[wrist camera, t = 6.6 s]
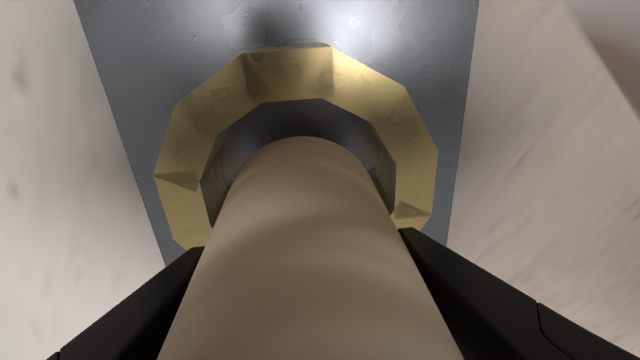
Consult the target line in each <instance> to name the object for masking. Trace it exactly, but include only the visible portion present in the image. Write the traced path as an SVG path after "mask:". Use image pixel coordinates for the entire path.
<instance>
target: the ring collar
mask: <svg viewBox="0 0 640 360" xmlns="http://www.w3.org/2000/svg"><path fill="white" fill-rule="evenodd" d="M74 3H75V6H76V9H77V12H78V15H79V18H80V20H81V23H82V26H83V29H84V32H85V35H86V38H87V41H88V44H89V46H90V49H91V52H92V55H93V58H94V61H95V64H96V67H97V70H98V72H99V75H100V78H101V81H102V84H103V87H104V90H105V93H106V95H107V98H108V101H109V104H110V107H111V110H112V113H113V116H114V119H115V121H116V124H117V127H118V130H119V133H120V136H121V139H122V142H123V145H124V147H125V150H126V153H127V156H128V159H129V162H130V165H131V168H132V170H133V173H134V176H135V179H136V182H137V185H138V188H139V191H140V194H141V196H142V199H143V202H144V205H145V208H146V211H147V214H148V217H149V219H150V222H151V225H152V228H153V231H154V234H155V237H156V240H157V243H158V245H159V248H160V251H161V254H162V257H163V260H164V263H165V266H166V267H167V266H168V265H169V264H171V263H172V262H173V261H174V260H176V259H177V258H178V257H180V256H181V255H182V254H184V253H185V252H186V251H187V250H189V249H190V248H192V247H200V246H206V243H207V241H208V239H209V236H210V234H211V232H212V229H213V227H214V225H215V222H216V220H217V218H218V215H219V213H220V211H221V208H222V206H223V204H224V201H225V199H226V197H227V194H228V192H229V190H230V187H231V185H232V183H233V180H234V178H235V176H236V174H237V172H238V170H239V169H240V167H241V166H242V165H243V163H244V162H245V161H246V160H247V159H248V158H249V157H250V156H251V155H252V154H254V153H255V152H256V151H257V150H259V149H260V148H262V147H264V146H266V145H267V144H270V143H272V142H275V141H277V140H281V139H284V138H289V137H297V136H309V137H317V138H322V139H326V140H329V141H331V142H334V143H337V144H338V145H340V146H342V147H344V148H346V149H347V150H348V151H350V152H351V153H352V154H354V155H355V156H356V157H357V158H358V159H359V160H360V162H361V163H362V164H363V166H364V167H365V168H366V170H367V172H368V174H369V176H370V178H371V180H372V182H373V184H374V185H375V187H376V189H377V191H378V193H379V195H380V197H381V199H382V201H383V203H384V205H385V207H386V209H387V211H388V213H389V215H390V216H391V218H392V220H393V222H394V224H395V226H396V228H397V229H398V228H407V227H413V228H415V229H417V230H418V231H420V232H422V233H423V234H425V235H427V236H428V237H430V238H432V239H434V240H435V241H437V242H439V243H440V244H442V245H444V246H445V247H446V244H447V236H448V229H449V222H450V214H451V207H452V199H453V192H454V184H455V177H456V169H457V162H458V154H459V147H460V140H461V132H462V125H463V117H464V110H465V102H466V95H467V87H468V80H469V72H470V65H471V58H472V50H473V43H474V35H475V28H476V20H477V13H478V5H479V0H74Z"/></svg>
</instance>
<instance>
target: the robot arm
mask: <svg viewBox="0 0 640 360" xmlns="http://www.w3.org/2000/svg"><path fill="white" fill-rule="evenodd" d="M397 230H398V232H399V234H400V236H401V238H402V240H403V242H404V244H405V245H406V247H407V249H408V251H409V253H410V255H411V257H412V259H413V261H414V263H415V265H416V267H417V269H418V271H419V273H420V275H421V276H422V278H423V280H424V282H425V284H426V286H427V288H428V290H429V292H430V294H431V296H432V298H433V300H434V302H435V304H436V306H437V307H438V309H439V311H440V313H441V315H442V317H443V319H444V321H445V323H446V325H447V327H448V329H449V331H450V333H451V335H452V337H453V338H454V340H455V342H456V344H457V346H458V348H459V350H460V352H461V354H462V356H463V358H464V360H640V358H639V357H637V356H635V355H633V354H631V353H629V352H627V351H625V350H623V349H621V348H620V347H618V346H616V345H614V344H612V343H610V342H608V341H607V340H605V339H603V338H601V337H599V336H597V335H595V334H593V333H592V332H590V331H588V330H586V329H584V328H583V327H581V326H579V325H577V324H576V323H574V322H572V321H570V320H569V319H567V318H565V317H563V316H562V315H560V314H558V313H556V312H555V311H553V310H551V309H550V308H548V307H546V306H545V305H543V304H541V303H537V302H536V300H534V299H533V298H531V297H529V296H528V295H526V294H524V293H523V292H521V291H519V290H518V289H516V288H514V287H513V286H511V285H509V284H507V283H506V282H504V281H502V280H501V279H499V278H497V277H496V276H494V275H492V274H491V273H489V272H487V271H486V270H484V269H482V268H481V267H479V266H477V265H476V264H474V263H472V262H470V261H469V260H467V259H465V258H464V257H462V256H460V255H459V254H457V253H455V252H454V251H452V250H450V249H449V248H447V247H445V246H444V245H442V244H440V243H439V242H437V241H435V240H434V239H432V238H430V237H428V236H427V235H425V234H423V233H422V232H420V231H418V230H417V229H415V228H413V227H407V228H398V229H397ZM204 248H205V246H200V247H192V248H190V249H189V250H187V251H186V252H185V253H184V254H182V255H181V256H180V257H178V258H177V259H176V260H174V261H173V262H172V263H171V264H169V265H168V266H167V267H165V268H164V269H163V270H162V271H160V272H159V273H158V274H156V275H155V276H154V277H153V278H151V279H150V280H149V281H147V282H146V283H145V284H143V285H142V286H141V287H140V288H138V289H137V290H136V291H134V292H133V293H132V294H131V295H129V296H128V297H127V298H125V299H124V300H123V301H121V302H120V303H119V304H118V305H116V306H115V307H114V308H112V309H111V310H110V311H109V312H107V313H106V314H105V315H103V316H102V317H101V318H99V319H98V320H97V321H96V322H94V323H93V324H92V325H90V326H89V327H88V328H87V329H85V330H84V331H83V332H81V333H80V334H79V335H77V336H76V337H75V338H74V339H72V340H71V341H70V342H68V343H67V344H66V345H65V346H63V347H62V348H61V349H60V352H55V353H54V354H53V355H51V356H50V357H49V358H48V359H46V360H157V358H158V356H159V353H160V351H161V349H162V346H163V344H164V342H165V339H166V337H167V335H168V332H169V330H170V328H171V325H172V323H173V321H174V318H175V316H176V314H177V311H178V309H179V306H180V304H181V302H182V299H183V297H184V295H185V292H186V290H187V288H188V285H189V283H190V281H191V278H192V276H193V274H194V271H195V269H196V267H197V264H198V262H199V260H200V257H201V255H202V253H203V250H204Z"/></svg>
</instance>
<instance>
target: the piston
mask: <svg viewBox="0 0 640 360" xmlns="http://www.w3.org/2000/svg"><path fill="white" fill-rule="evenodd" d="M157 360H464V358H463V356H462V354H461V352H460V350H459V348H458V346H457V344H456V342H455V340H454V338H453V337H452V335H451V333H450V331H449V329H448V327H447V325H446V323H445V321H444V319H443V317H442V315H441V313H440V311H439V309H438V307H437V306H436V304H435V302H434V300H433V298H432V296H431V294H430V292H429V290H428V288H427V286H426V284H425V282H424V280H423V278H422V276H421V275H420V273H419V271H418V269H417V267H416V265H415V263H414V261H413V259H412V257H411V255H410V253H409V251H408V249H407V247H406V245H405V244H404V242H403V240H402V238H401V236H400V234H399V232H398V230H397V228H396V226H395V224H394V222H393V220H392V218H391V216H390V215H389V213H388V211H387V209H386V207H385V205H384V203H383V201H382V199H381V197H380V195H379V193H378V191H377V189H376V187H375V185H374V184H373V182H372V180H371V178H370V176H369V174H368V172H367V170H366V168H365V167H364V166H363V164H362V163H361V162H360V160H359V159H358V158H357V157H356V156H355V155H354V154H352V153H351V152H350V151H348V150H347V149H346V148H344V147H342V146H340V145H338V144H337V143H334V142H331V141H329V140H326V139H322V138H317V137H309V136H297V137H289V138H284V139H281V140H277V141H275V142H272V143H270V144H267V145H266V146H264V147H262V148H260V149H259V150H257V151H256V152H255V153H254V154H252V155H251V156H250V157H249V158H248V159H247V160H246V161H245V162H244V163H243V165H242V166H241V167H240V169H239V170H238V172H237V174H236V176H235V178H234V180H233V183H232V185H231V187H230V190H229V192H228V194H227V197H226V199H225V201H224V204H223V206H222V208H221V211H220V213H219V215H218V218H217V220H216V222H215V225H214V227H213V229H212V232H211V234H210V236H209V239H208V241H207V243H206V246H205V248H204V250H203V253H202V255H201V257H200V260H199V262H198V264H197V267H196V269H195V271H194V274H193V276H192V278H191V281H190V283H189V285H188V288H187V290H186V292H185V295H184V297H183V299H182V302H181V304H180V306H179V309H178V311H177V314H176V316H175V318H174V321H173V323H172V325H171V328H170V330H169V332H168V335H167V337H166V339H165V342H164V344H163V346H162V349H161V351H160V353H159V356H158V358H157Z"/></svg>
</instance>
